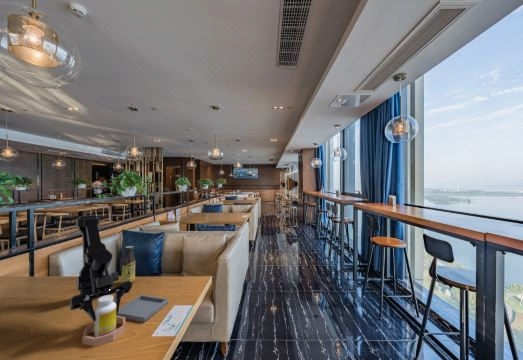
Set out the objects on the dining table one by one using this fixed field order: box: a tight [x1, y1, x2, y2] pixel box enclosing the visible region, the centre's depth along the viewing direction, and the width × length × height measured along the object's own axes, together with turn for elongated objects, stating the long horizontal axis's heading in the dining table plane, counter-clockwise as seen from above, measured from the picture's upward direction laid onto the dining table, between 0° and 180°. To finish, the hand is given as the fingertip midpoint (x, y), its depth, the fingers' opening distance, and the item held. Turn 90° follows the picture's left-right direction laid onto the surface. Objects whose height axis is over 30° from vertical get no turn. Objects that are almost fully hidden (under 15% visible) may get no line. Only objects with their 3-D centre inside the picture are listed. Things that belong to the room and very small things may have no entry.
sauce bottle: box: [121, 245, 136, 285], centre depth 122 cm, size 7×6×20 cm
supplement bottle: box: [93, 294, 117, 338], centre depth 82 cm, size 7×7×13 cm
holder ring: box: [81, 316, 127, 348], centre depth 82 cm, size 13×13×2 cm
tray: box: [116, 294, 169, 323], centre depth 97 cm, size 15×15×2 cm
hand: (106, 316), depth 81 cm, fingers closed on supplement bottle, 7 cm apart
